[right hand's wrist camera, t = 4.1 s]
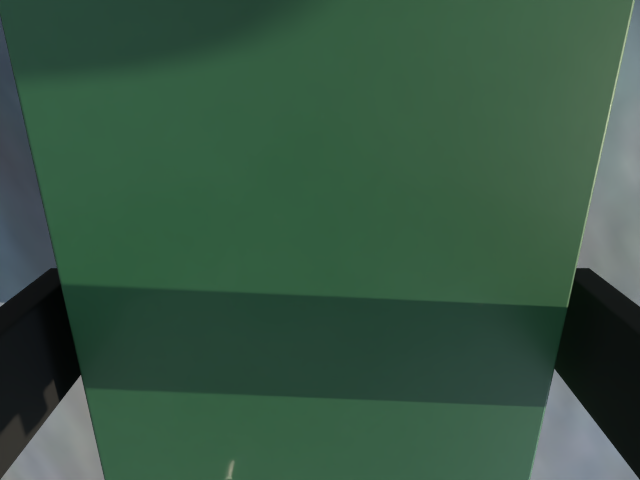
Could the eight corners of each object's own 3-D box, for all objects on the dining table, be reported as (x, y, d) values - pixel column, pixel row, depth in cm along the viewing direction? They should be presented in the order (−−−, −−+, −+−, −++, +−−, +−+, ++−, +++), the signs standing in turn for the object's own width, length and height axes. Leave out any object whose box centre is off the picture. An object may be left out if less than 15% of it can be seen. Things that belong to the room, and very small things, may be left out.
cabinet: (166, -50, 17) (-56, -224, 7) (467, -50, 17) (686, -224, 7) (204, 312, 22) (110, 512, 12) (431, 312, 22) (524, 511, 12)
